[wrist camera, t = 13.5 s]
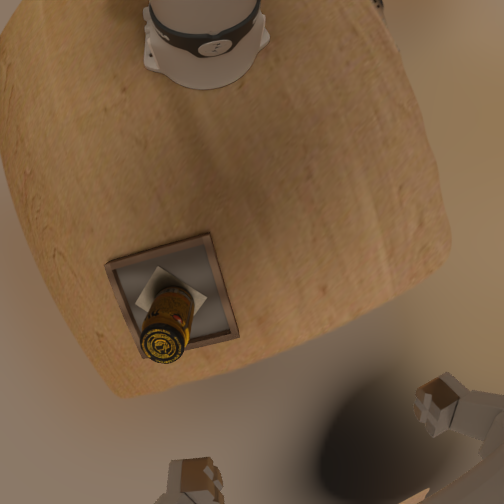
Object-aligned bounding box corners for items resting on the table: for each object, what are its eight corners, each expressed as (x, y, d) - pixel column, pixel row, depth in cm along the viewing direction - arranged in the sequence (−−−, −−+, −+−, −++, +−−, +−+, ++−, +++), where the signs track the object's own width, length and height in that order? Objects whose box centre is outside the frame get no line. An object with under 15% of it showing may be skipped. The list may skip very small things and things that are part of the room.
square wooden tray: (109, 261, 40) (103, 265, 38) (209, 232, 41) (209, 234, 39) (145, 351, 44) (142, 358, 42) (238, 330, 45) (239, 337, 43)
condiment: (181, 332, 43) (172, 379, 31) (135, 303, 41) (110, 343, 30) (207, 296, 42) (204, 337, 31) (158, 265, 40) (137, 296, 29)
